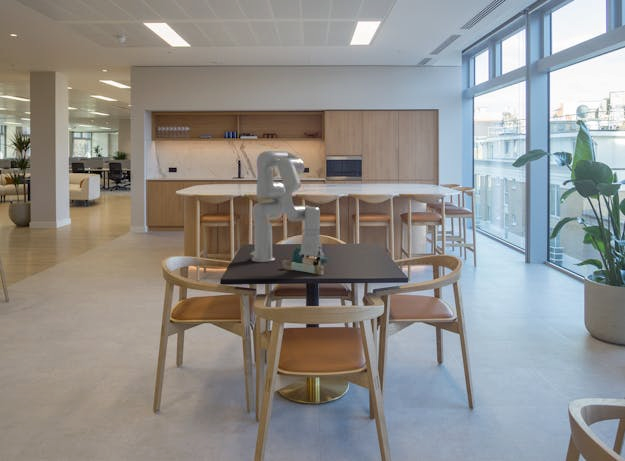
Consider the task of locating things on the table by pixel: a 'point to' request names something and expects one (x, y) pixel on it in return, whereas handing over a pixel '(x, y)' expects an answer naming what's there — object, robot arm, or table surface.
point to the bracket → (298, 257)
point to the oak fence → (318, 269)
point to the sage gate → (303, 267)
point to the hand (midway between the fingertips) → (311, 268)
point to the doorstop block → (309, 261)
